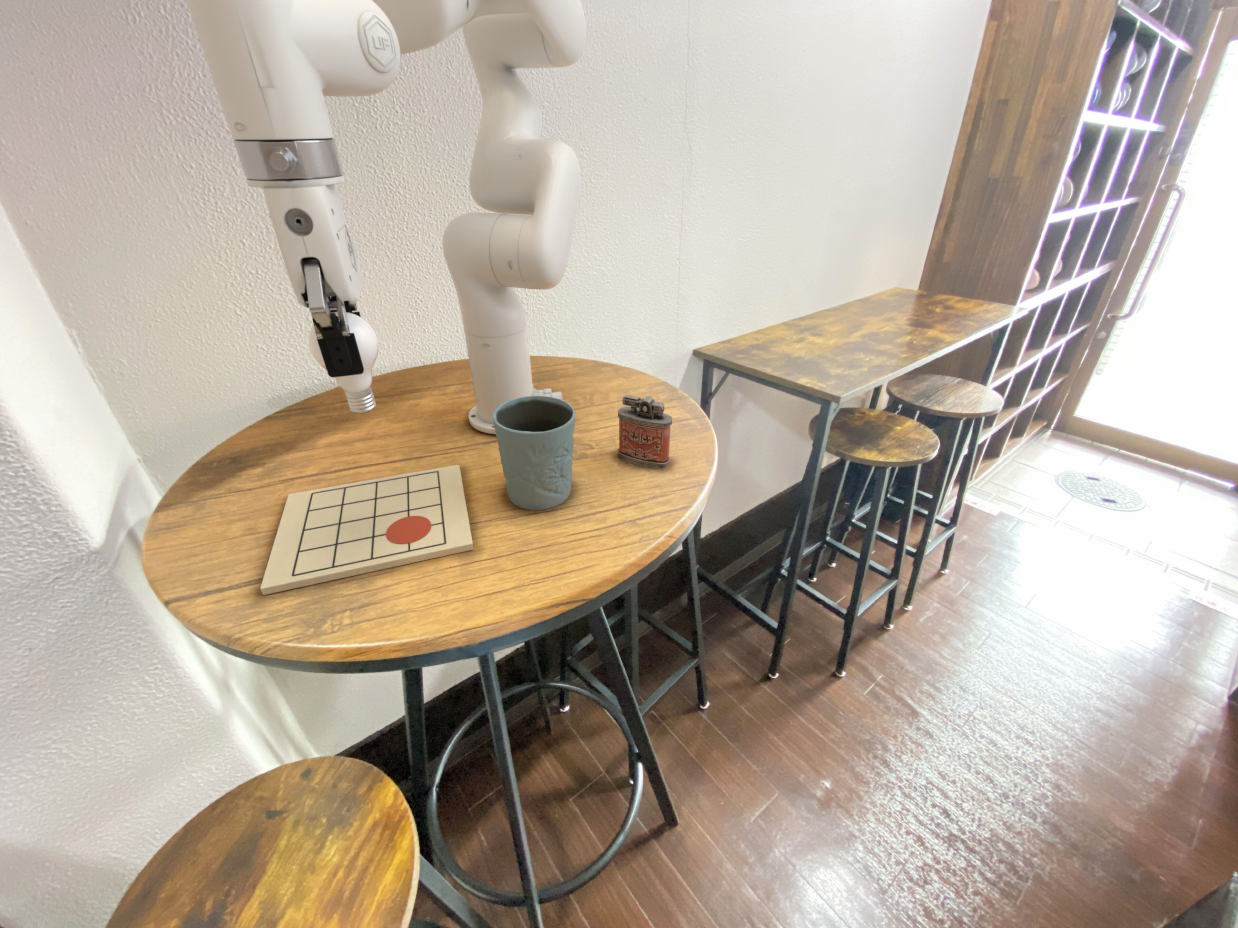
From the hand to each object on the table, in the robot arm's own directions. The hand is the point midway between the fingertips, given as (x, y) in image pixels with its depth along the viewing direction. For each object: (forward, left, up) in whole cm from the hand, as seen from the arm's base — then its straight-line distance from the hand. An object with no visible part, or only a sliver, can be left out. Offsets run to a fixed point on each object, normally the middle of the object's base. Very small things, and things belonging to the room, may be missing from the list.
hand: (349, 360), depth 55 cm
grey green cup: (-19, 0, -22) cm, 29 cm away
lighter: (-35, -3, -22) cm, 41 cm away
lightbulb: (0, 0, -6) cm, 6 cm away
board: (+2, 0, -21) cm, 22 cm away
